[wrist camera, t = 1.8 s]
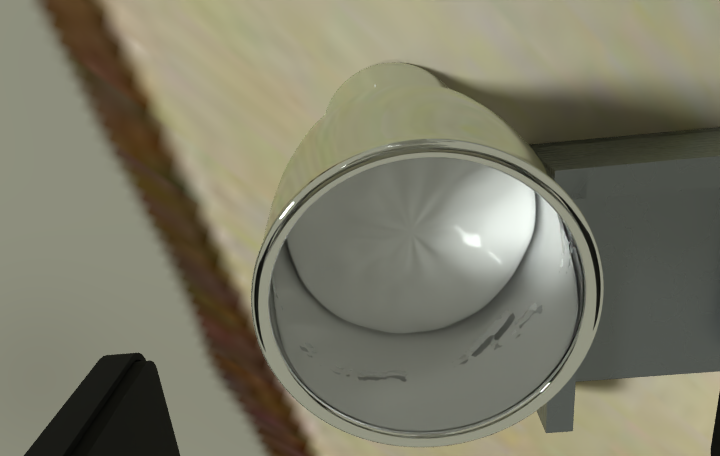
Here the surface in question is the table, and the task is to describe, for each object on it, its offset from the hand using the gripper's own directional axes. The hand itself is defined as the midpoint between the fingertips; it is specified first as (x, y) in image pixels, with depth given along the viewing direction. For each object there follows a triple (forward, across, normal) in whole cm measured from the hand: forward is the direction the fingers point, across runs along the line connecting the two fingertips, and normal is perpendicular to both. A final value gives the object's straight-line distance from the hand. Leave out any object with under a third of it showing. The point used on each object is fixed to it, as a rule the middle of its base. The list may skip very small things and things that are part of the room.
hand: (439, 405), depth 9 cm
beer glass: (+17, 0, -1) cm, 17 cm away
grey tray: (+17, -12, +6) cm, 21 cm away
